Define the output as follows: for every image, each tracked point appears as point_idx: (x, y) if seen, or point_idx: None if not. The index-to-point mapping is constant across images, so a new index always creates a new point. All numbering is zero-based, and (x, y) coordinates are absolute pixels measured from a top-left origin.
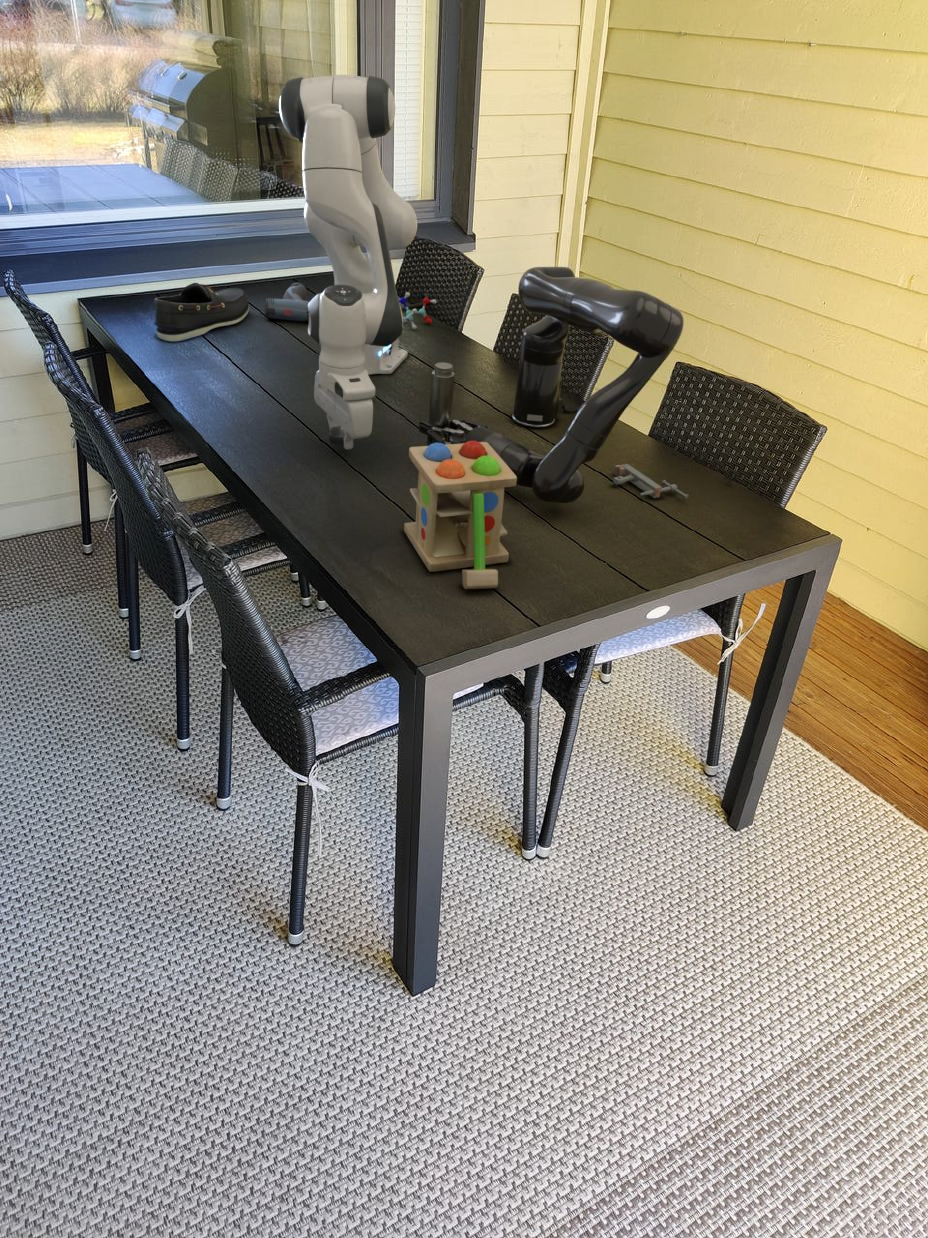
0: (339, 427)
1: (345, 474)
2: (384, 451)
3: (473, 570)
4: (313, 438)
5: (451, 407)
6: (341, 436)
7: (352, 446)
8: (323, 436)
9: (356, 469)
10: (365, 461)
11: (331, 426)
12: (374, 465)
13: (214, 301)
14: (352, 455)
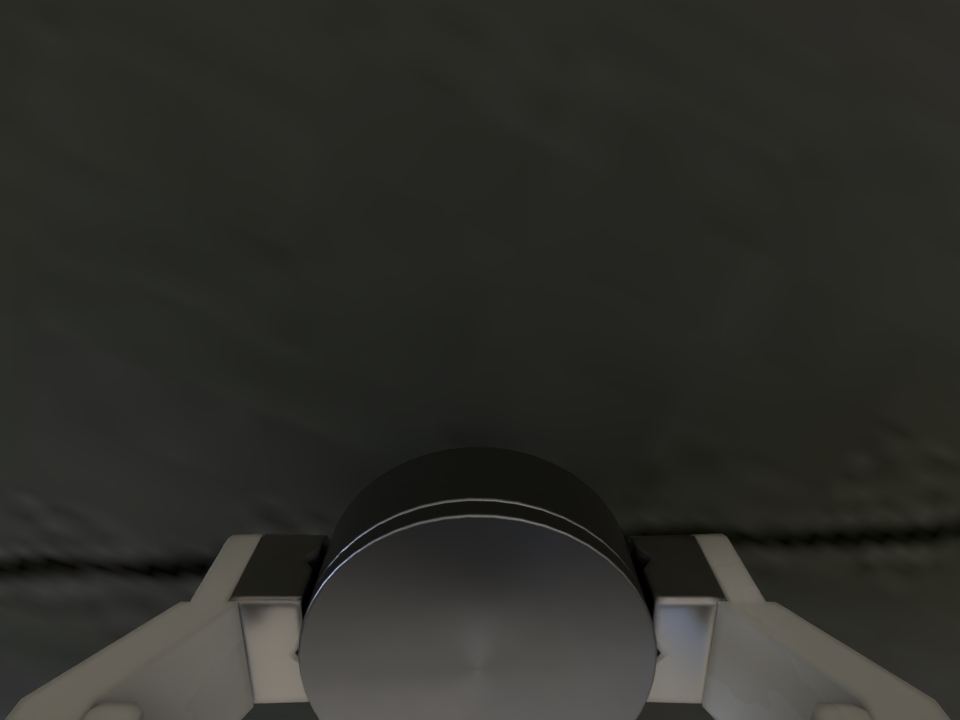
0: (305, 629)
1: (947, 637)
2: (678, 13)
3: None
4: (113, 613)
5: None
6: (616, 711)
7: (726, 545)
8: (77, 518)
9: (919, 519)
10: (810, 366)
11: (242, 705)
12: (949, 318)
13: None
14: (615, 431)
